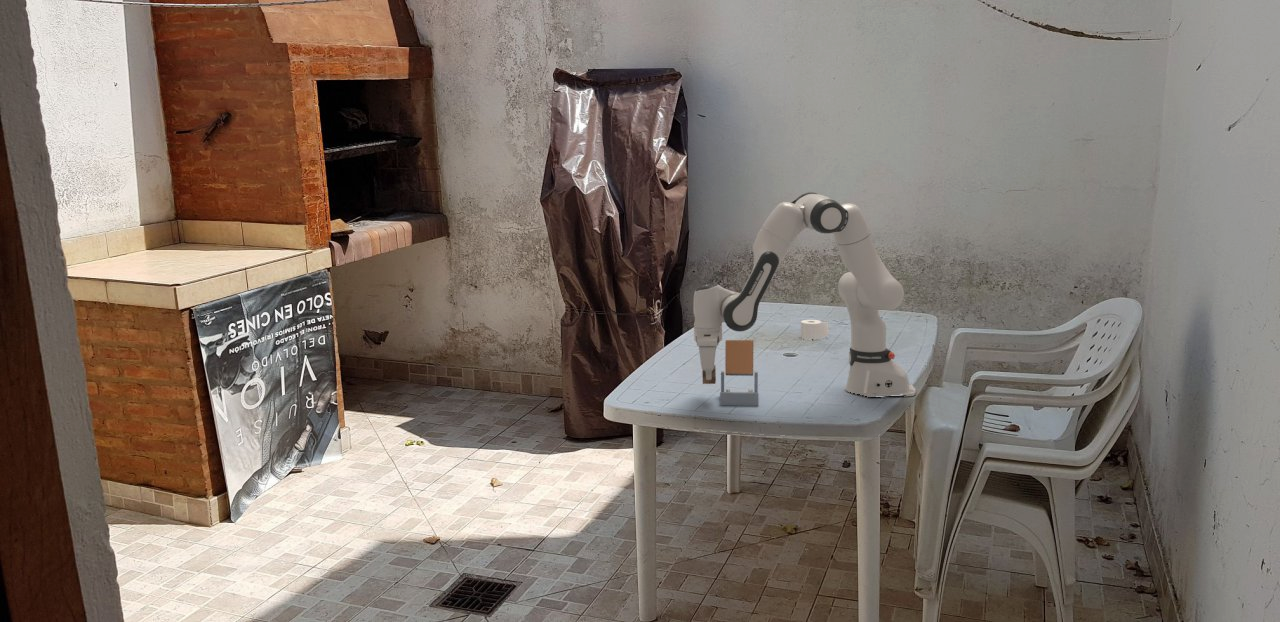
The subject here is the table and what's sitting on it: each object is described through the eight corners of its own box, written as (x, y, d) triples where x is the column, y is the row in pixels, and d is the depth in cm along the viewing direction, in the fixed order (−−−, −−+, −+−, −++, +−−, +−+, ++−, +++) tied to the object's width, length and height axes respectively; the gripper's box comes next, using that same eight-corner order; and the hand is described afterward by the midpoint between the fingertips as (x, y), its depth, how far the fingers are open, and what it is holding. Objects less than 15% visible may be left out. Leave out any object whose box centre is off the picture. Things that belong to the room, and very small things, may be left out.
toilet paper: (829, 337, 402) (830, 320, 400) (813, 341, 394) (813, 324, 393) (813, 334, 408) (813, 317, 406) (796, 338, 400) (797, 321, 399)
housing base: (757, 396, 319) (757, 371, 318) (758, 405, 309) (758, 380, 307) (720, 395, 320) (720, 371, 319) (720, 405, 310) (720, 380, 308)
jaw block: (715, 380, 314) (715, 365, 313) (715, 383, 310) (715, 368, 309) (703, 380, 315) (702, 365, 314) (702, 383, 311) (702, 368, 310)
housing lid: (753, 375, 317) (753, 375, 317) (753, 340, 316) (753, 340, 317) (725, 375, 318) (725, 375, 318) (725, 340, 317) (725, 340, 318)
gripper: (699, 327, 320) (700, 368, 322) (696, 342, 300) (697, 386, 303) (719, 327, 319) (720, 368, 322) (717, 342, 299) (718, 385, 302)
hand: (709, 377), depth 312 cm, fingers closed on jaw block, 4 cm apart
